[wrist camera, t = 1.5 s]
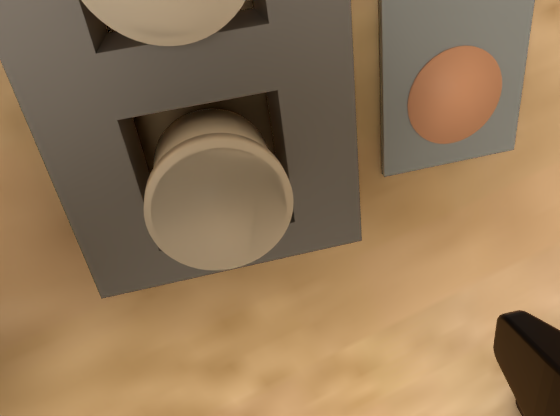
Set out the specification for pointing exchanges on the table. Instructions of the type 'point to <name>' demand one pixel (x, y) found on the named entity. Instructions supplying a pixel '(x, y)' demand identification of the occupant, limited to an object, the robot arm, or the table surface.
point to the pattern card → (450, 79)
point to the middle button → (165, 18)
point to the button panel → (179, 94)
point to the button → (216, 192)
